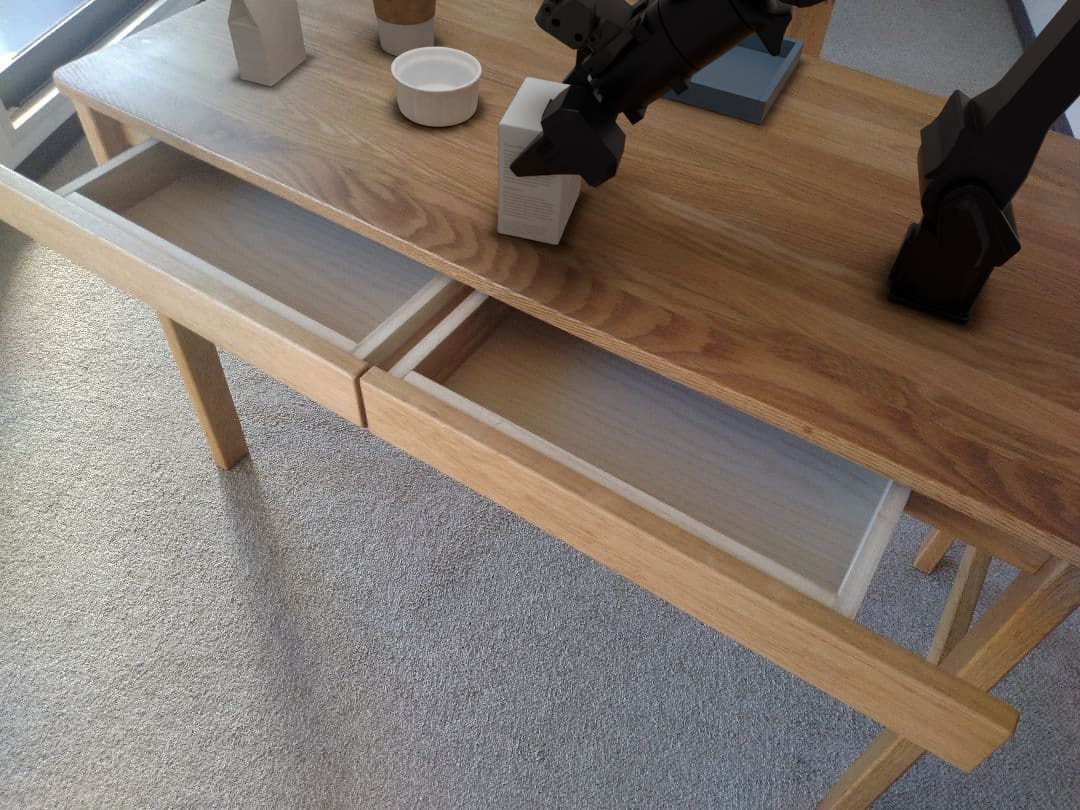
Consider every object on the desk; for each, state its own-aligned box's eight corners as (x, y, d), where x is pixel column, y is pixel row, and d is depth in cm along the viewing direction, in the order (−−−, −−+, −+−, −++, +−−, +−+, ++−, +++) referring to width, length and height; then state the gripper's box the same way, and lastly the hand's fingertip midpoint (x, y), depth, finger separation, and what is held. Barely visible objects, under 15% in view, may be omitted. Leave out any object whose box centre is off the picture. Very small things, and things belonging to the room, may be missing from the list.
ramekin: (489, 91, 88) (489, 51, 85) (472, 136, 82) (471, 94, 79) (406, 81, 88) (403, 41, 85) (384, 125, 82) (379, 83, 79)
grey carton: (306, 58, 91) (290, -39, 83) (271, 86, 86) (250, -14, 79) (277, 51, 91) (258, -46, 84) (240, 78, 87) (217, -22, 80)
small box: (521, 183, 77) (525, 74, 69) (580, 195, 76) (591, 86, 68) (495, 234, 72) (496, 122, 64) (558, 247, 71) (566, 135, 63)
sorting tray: (798, 62, 95) (805, 41, 94) (760, 124, 86) (766, 102, 84) (670, 29, 100) (674, 8, 98) (620, 85, 90) (623, 62, 88)
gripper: (636, -110, 62) (492, 17, 72) (583, -10, 50) (418, 126, 60) (720, 14, 67) (575, 117, 77) (689, 132, 55) (521, 237, 64)
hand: (526, 144), depth 69 cm, fingers closed on small box, 8 cm apart
